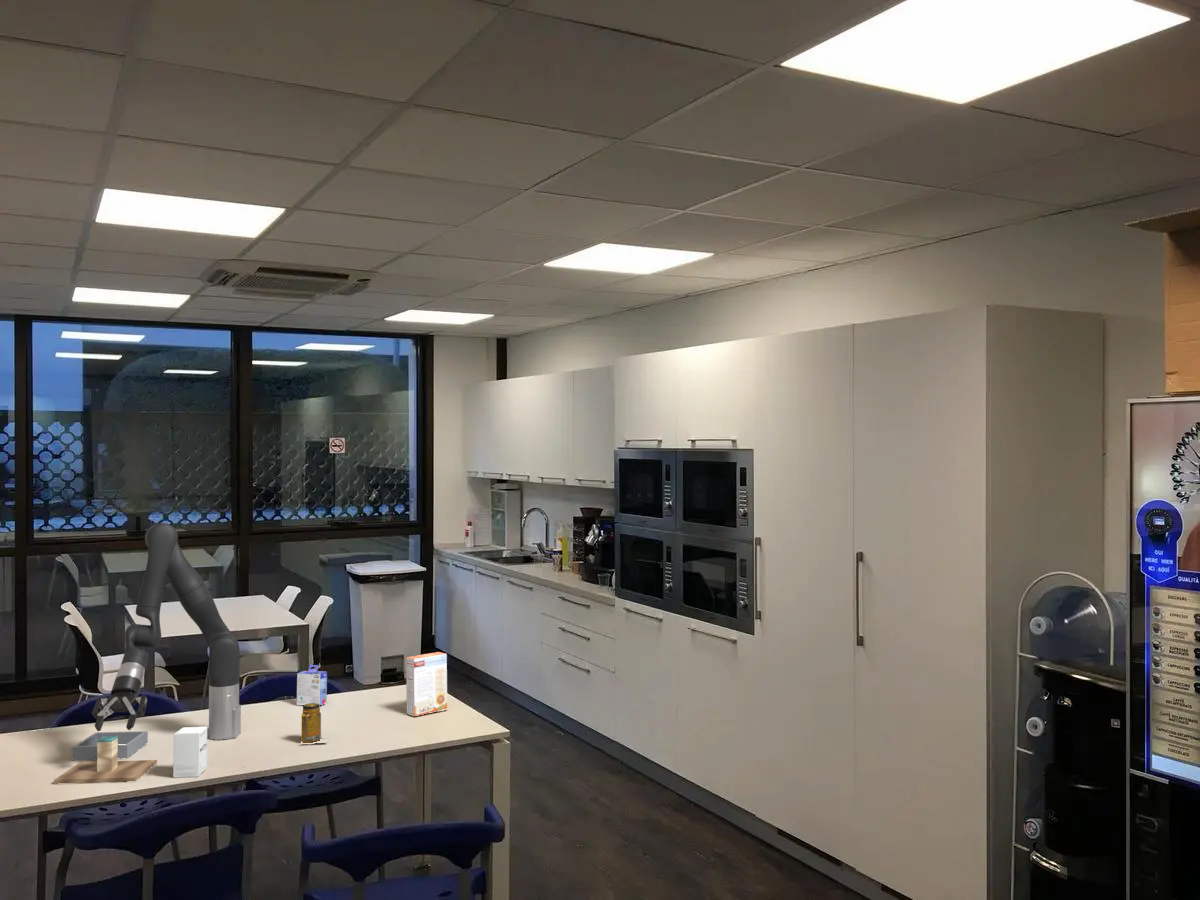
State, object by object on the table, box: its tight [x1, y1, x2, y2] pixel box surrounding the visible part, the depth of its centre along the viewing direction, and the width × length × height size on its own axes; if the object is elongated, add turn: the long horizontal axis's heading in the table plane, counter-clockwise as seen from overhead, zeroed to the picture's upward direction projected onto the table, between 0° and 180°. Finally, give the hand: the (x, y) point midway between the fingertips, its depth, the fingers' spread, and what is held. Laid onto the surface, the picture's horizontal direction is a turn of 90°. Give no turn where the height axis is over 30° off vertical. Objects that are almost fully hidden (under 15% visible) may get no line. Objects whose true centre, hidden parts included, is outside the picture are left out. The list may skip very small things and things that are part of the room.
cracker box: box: [405, 651, 448, 717], centre depth 340 cm, size 14×6×21 cm, turn 133°
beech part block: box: [96, 736, 119, 772], centre depth 272 cm, size 4×4×9 cm
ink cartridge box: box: [296, 664, 328, 706], centre depth 352 cm, size 10×6×14 cm, turn 78°
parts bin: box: [71, 730, 149, 761], centre depth 294 cm, size 16×16×4 cm
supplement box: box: [172, 726, 208, 778], centre depth 273 cm, size 7×7×13 cm
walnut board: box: [53, 759, 158, 784], centre depth 272 cm, size 22×16×1 cm
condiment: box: [300, 703, 322, 743], centre depth 304 cm, size 7×8×12 cm
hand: (113, 729), depth 275 cm, fingers open, 8 cm apart
